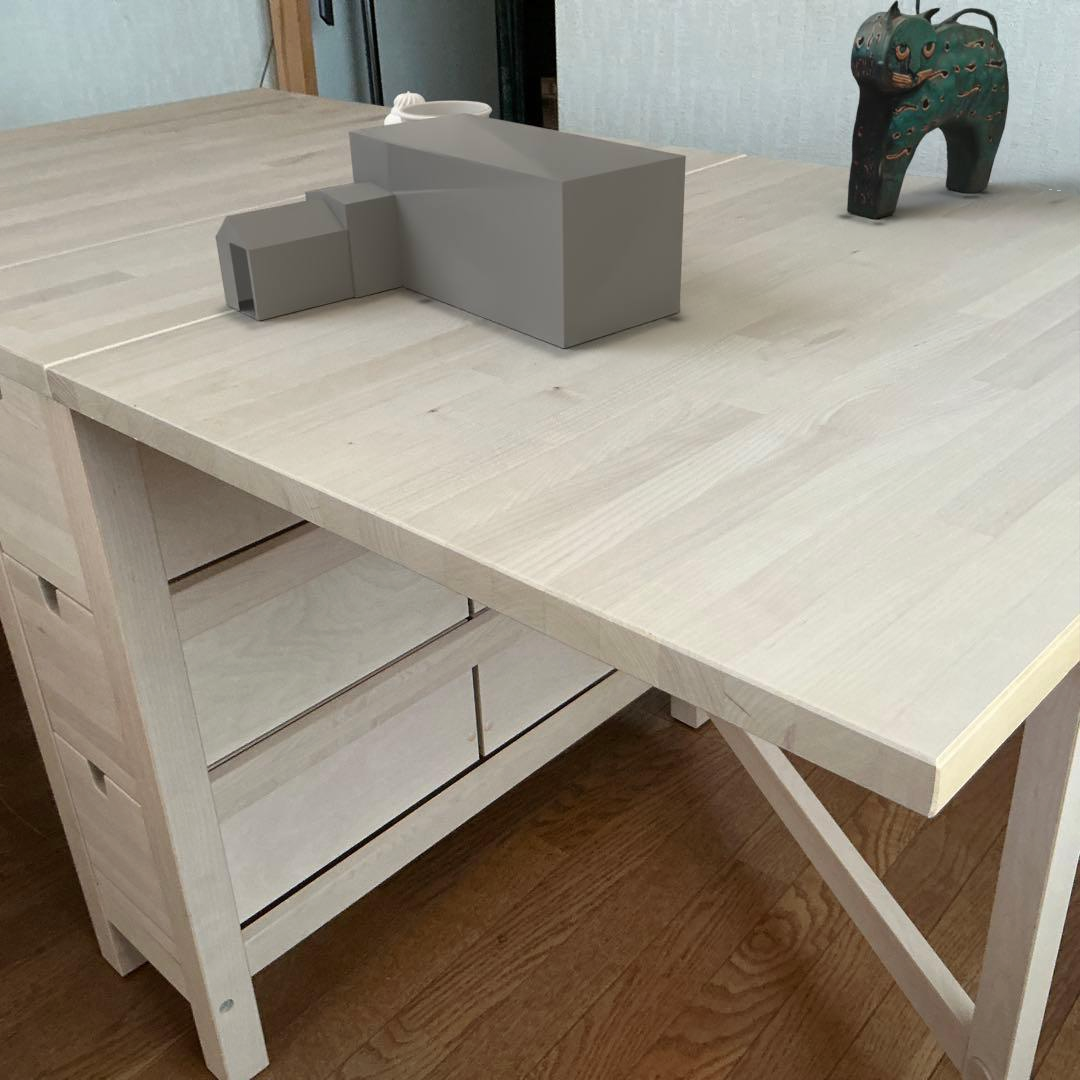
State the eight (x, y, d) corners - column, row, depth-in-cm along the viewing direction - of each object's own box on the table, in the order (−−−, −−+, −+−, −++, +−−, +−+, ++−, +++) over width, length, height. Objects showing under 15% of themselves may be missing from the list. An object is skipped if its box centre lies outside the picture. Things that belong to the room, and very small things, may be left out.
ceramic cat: (872, 225, 103) (902, -25, 93) (817, 211, 107) (840, -28, 98) (1007, 191, 113) (1046, -38, 103) (951, 180, 118) (984, -40, 108)
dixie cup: (462, 237, 102) (455, 118, 98) (388, 226, 106) (378, 112, 101) (513, 216, 109) (509, 103, 104) (441, 206, 112) (434, 98, 108)
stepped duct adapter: (224, 303, 87) (200, 154, 82) (470, 245, 100) (463, 112, 95) (412, 396, 70) (397, 216, 65) (679, 311, 83) (685, 155, 78)
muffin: (391, 149, 138) (385, 87, 134) (442, 148, 137) (438, 86, 134) (383, 160, 132) (377, 95, 129) (436, 159, 132) (432, 94, 128)
